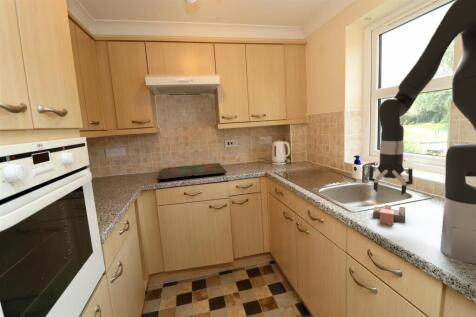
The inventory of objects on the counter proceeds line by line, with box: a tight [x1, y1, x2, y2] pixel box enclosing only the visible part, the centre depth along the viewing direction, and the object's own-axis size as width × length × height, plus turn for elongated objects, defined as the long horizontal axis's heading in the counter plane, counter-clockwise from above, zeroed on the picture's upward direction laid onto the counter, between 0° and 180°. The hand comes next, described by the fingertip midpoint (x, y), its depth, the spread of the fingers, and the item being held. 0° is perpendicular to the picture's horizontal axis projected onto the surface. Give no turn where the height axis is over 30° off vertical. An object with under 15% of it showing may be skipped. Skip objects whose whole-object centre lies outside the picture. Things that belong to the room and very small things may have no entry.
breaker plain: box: [398, 204, 406, 214], centre depth 95 cm, size 2×2×2 cm
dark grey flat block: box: [372, 206, 406, 223], centre depth 98 cm, size 6×11×3 cm, turn 55°
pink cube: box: [379, 209, 395, 226], centre depth 94 cm, size 4×4×4 cm
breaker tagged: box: [384, 202, 392, 210], centre depth 98 cm, size 2×2×2 cm
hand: (389, 192), depth 92 cm, fingers open, 8 cm apart
